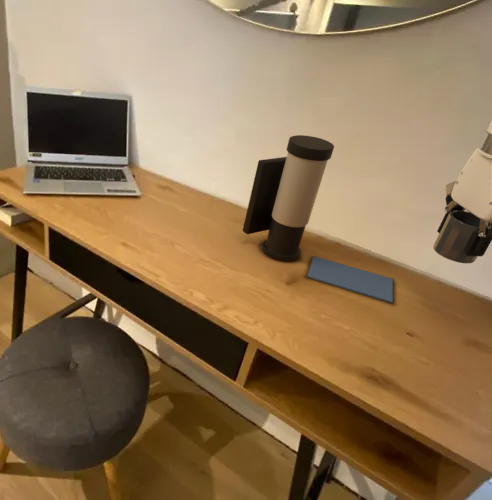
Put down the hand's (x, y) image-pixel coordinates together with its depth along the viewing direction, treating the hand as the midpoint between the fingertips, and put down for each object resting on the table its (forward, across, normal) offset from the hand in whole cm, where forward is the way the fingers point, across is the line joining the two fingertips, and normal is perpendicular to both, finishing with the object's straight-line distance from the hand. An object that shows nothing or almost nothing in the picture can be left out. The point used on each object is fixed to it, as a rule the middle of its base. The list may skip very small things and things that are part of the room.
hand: (459, 243), depth 85 cm
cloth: (+14, +8, +12) cm, 20 cm away
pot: (+2, 0, 0) cm, 2 cm away
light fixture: (+14, +19, +24) cm, 34 cm away
